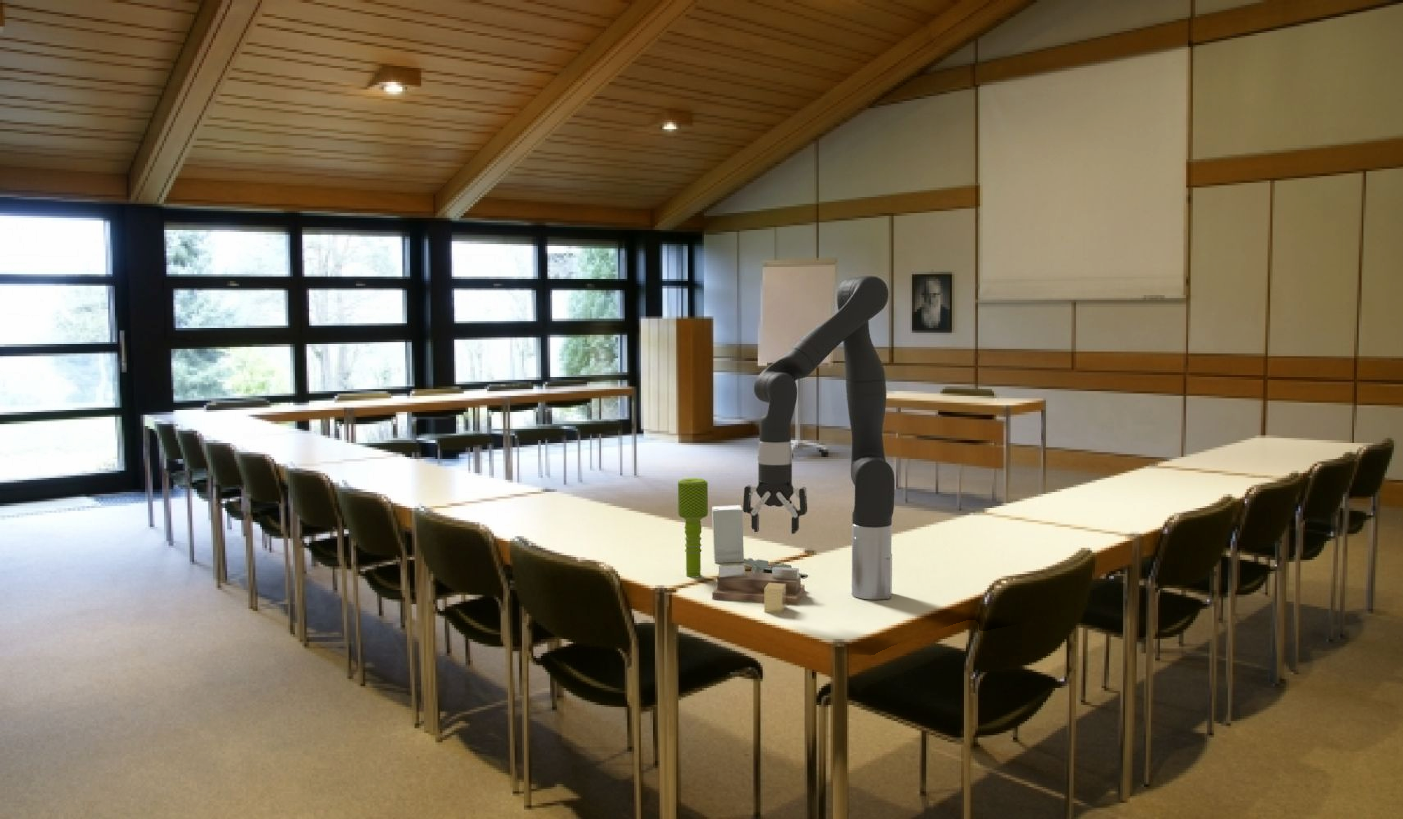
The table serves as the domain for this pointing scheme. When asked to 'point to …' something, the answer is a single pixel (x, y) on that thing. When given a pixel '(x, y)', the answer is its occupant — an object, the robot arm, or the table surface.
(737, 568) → the grey bar
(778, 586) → the natural wood cube
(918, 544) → the table surface
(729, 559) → the skincare box
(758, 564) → the metal bracket
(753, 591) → the base
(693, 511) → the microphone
